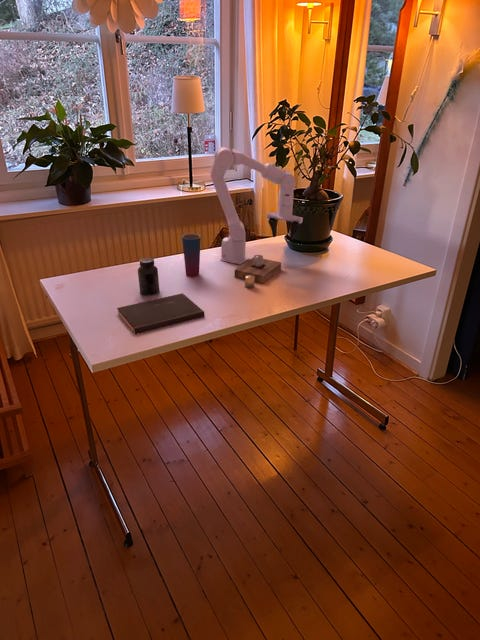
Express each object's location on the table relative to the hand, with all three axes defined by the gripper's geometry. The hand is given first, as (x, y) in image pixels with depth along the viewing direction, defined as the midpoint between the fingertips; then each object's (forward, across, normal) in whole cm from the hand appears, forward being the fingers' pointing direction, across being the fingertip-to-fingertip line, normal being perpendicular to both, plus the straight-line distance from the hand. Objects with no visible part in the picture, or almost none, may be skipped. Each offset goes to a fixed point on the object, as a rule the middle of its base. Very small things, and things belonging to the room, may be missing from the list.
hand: (283, 238), depth 190 cm
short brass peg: (+10, 0, -31) cm, 32 cm away
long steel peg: (+9, -3, -18) cm, 21 cm away
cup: (+10, -24, -31) cm, 41 cm away
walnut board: (+9, -3, -18) cm, 20 cm away
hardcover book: (+10, -15, -64) cm, 67 cm away
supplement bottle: (+10, -29, -52) cm, 60 cm away
